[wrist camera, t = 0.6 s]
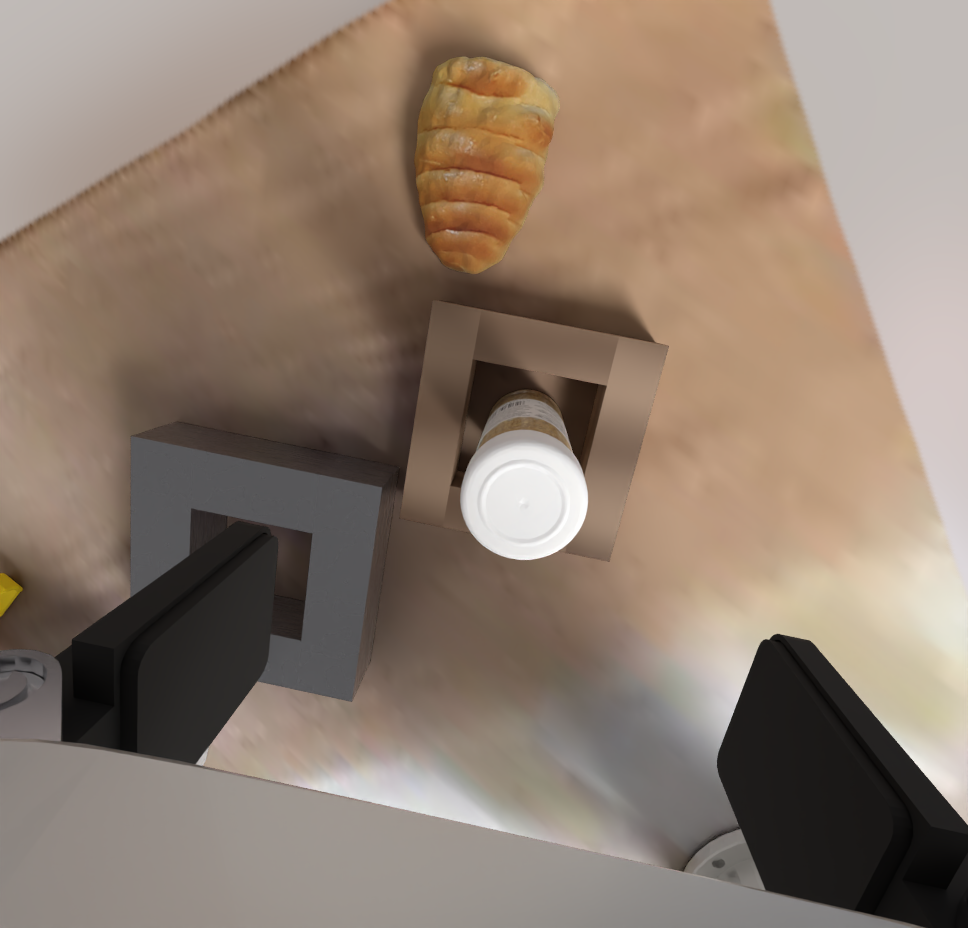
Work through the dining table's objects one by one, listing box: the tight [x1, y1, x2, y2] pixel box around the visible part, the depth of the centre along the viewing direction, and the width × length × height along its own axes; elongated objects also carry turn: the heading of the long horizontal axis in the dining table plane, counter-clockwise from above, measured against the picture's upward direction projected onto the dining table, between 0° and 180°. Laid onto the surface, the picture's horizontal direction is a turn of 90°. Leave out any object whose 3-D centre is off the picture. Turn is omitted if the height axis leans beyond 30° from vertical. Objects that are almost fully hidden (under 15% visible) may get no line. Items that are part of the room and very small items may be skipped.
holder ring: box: [399, 300, 669, 562], centre depth 30 cm, size 12×12×3 cm
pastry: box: [414, 56, 560, 274], centre depth 27 cm, size 9×7×4 cm
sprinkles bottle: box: [460, 389, 588, 560], centre depth 25 cm, size 5×5×13 cm
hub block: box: [131, 422, 399, 702], centre depth 33 cm, size 14×14×4 cm
